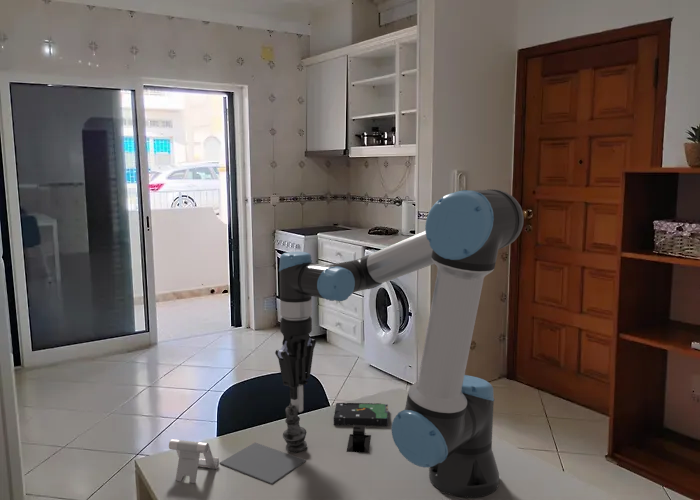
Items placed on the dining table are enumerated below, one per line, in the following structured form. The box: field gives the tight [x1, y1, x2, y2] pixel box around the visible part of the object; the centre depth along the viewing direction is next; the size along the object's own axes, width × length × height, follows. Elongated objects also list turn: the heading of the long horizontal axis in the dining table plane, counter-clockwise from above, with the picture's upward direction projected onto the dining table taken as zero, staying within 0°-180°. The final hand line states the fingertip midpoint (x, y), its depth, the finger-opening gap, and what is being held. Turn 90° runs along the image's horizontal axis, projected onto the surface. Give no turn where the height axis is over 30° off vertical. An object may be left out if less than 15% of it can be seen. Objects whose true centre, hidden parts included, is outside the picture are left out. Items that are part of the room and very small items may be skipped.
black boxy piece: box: [346, 425, 372, 454], centre depth 143 cm, size 12×7×5 cm, turn 175°
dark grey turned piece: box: [282, 402, 308, 454], centre depth 139 cm, size 6×6×12 cm
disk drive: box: [333, 402, 389, 427], centre depth 158 cm, size 10×3×15 cm
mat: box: [219, 442, 307, 485], centre depth 134 cm, size 16×12×1 cm
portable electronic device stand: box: [168, 438, 220, 484], centre depth 129 cm, size 9×8×8 cm
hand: (297, 410), depth 140 cm, fingers closed
